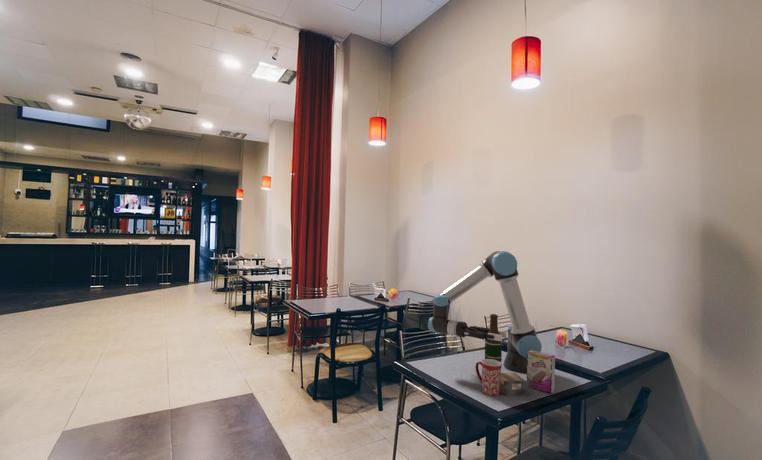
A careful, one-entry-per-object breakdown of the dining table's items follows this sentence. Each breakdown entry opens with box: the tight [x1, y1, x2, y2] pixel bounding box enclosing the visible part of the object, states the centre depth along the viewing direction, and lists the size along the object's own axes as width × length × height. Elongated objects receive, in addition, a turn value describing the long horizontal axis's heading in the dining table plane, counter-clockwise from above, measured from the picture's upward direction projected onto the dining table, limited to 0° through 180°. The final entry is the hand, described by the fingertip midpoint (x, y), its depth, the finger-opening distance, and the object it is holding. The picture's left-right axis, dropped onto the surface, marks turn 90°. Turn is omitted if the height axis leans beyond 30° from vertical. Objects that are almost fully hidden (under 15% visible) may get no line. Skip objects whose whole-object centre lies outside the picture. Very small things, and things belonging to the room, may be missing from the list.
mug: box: [475, 358, 503, 397], centre depth 158 cm, size 13×9×14 cm
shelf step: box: [499, 372, 533, 396], centre depth 163 cm, size 13×16×6 cm
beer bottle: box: [484, 313, 503, 363], centre depth 168 cm, size 8×8×24 cm
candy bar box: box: [526, 350, 556, 395], centre depth 163 cm, size 11×5×16 cm, turn 49°
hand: (504, 336), depth 166 cm, fingers closed on beer bottle, 7 cm apart
